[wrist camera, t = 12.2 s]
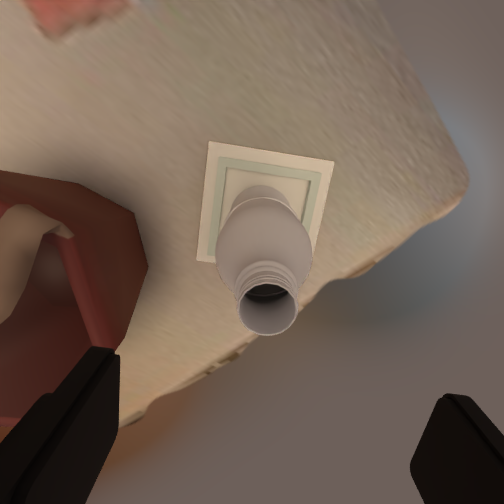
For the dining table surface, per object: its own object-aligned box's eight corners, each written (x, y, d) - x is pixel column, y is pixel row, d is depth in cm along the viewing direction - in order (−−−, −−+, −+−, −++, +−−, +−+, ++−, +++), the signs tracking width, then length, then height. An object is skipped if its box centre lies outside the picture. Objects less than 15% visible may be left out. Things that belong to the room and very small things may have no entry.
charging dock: (210, 141, 37) (207, 140, 35) (332, 161, 38) (337, 162, 36) (197, 258, 42) (193, 264, 40) (306, 274, 43) (309, 281, 40)
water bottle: (262, 251, 40) (272, 394, 17) (219, 214, 39) (163, 315, 15) (301, 209, 39) (373, 304, 15) (258, 170, 37) (261, 205, 14)
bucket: (130, 134, 37) (-90, 107, 14) (205, 291, 44) (146, 460, 20) (-37, 209, 40) (-456, 293, 17) (56, 346, 47) (-151, 549, 23)
